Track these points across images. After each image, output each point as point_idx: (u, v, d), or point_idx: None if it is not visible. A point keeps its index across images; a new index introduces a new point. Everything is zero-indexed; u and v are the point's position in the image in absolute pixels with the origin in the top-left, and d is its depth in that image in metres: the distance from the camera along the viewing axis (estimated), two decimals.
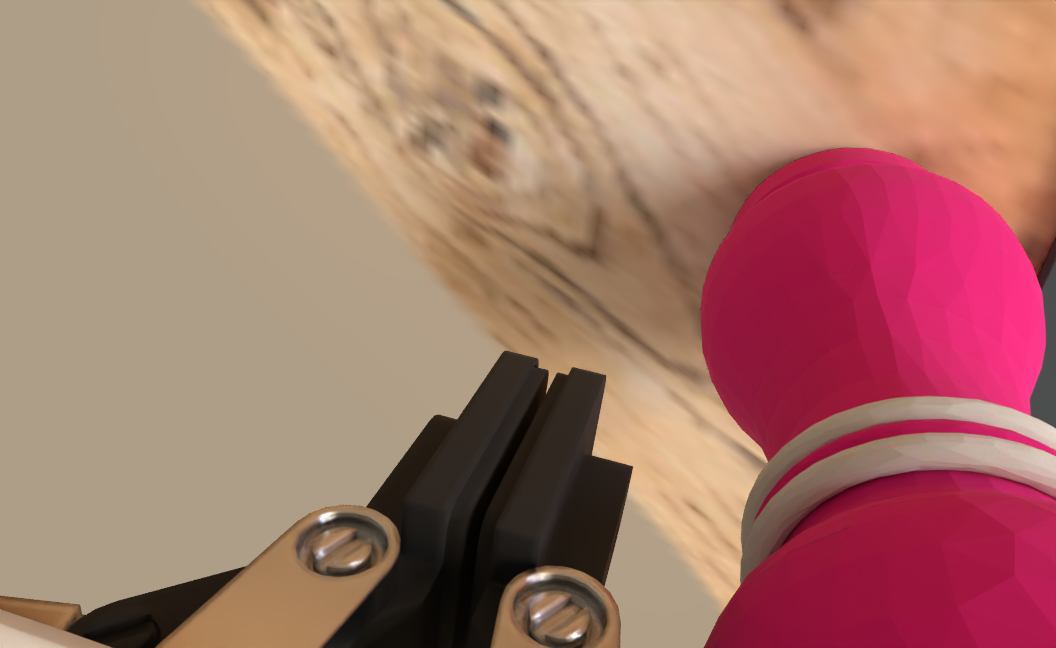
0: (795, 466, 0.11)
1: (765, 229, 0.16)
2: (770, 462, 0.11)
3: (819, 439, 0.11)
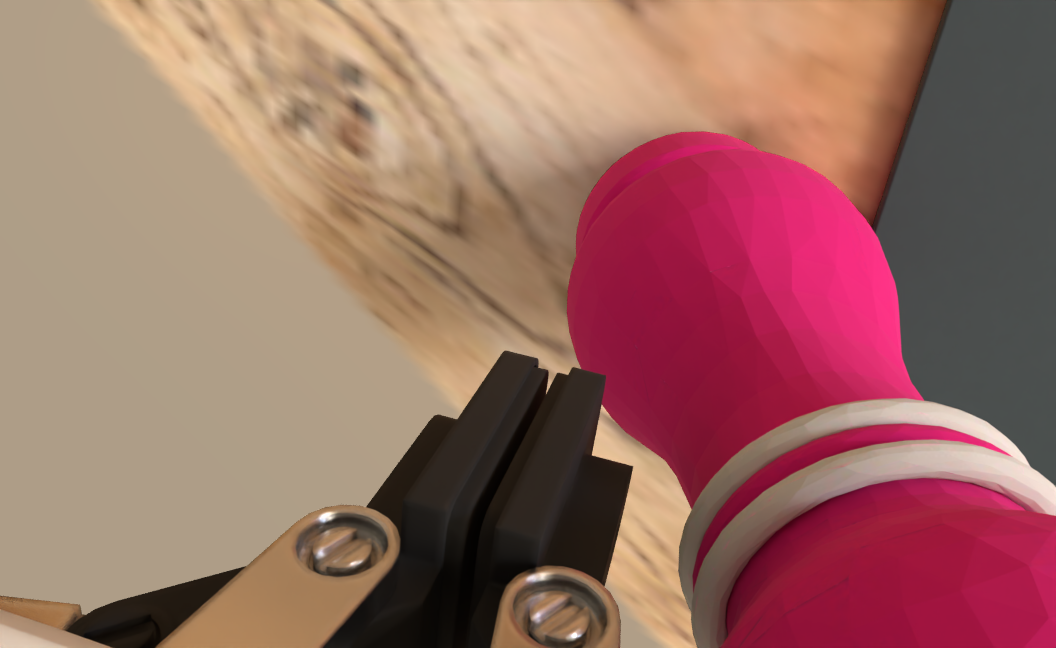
0: (738, 494, 0.10)
1: (633, 227, 0.16)
2: (706, 490, 0.10)
3: (758, 461, 0.10)
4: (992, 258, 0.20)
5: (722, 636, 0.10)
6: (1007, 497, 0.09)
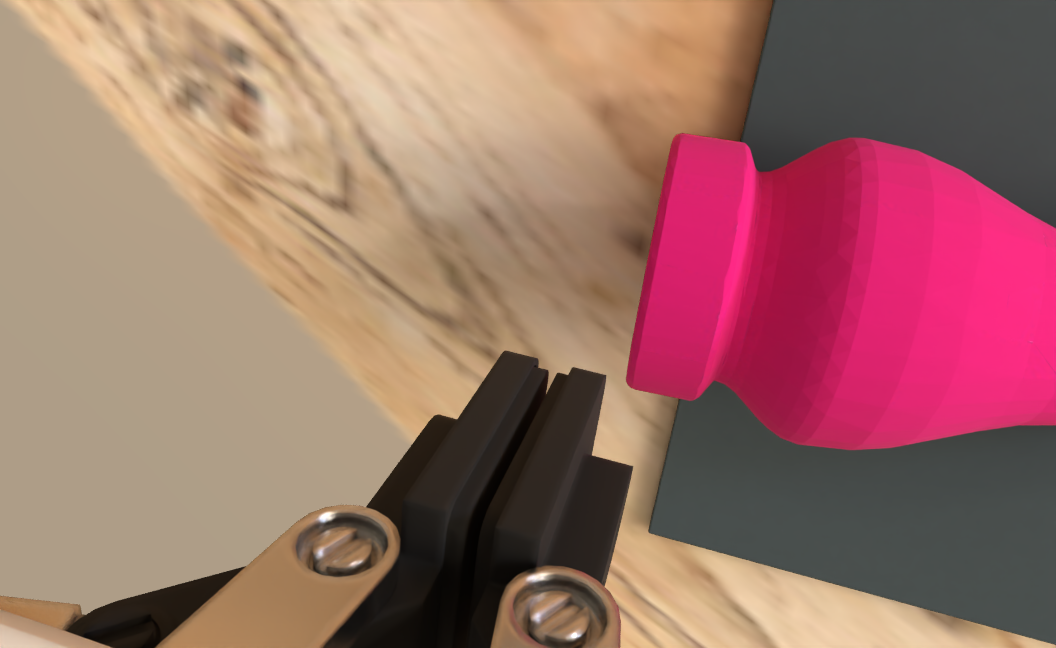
0: None
1: (952, 241, 0.15)
2: None
3: None
4: None
5: None
6: None
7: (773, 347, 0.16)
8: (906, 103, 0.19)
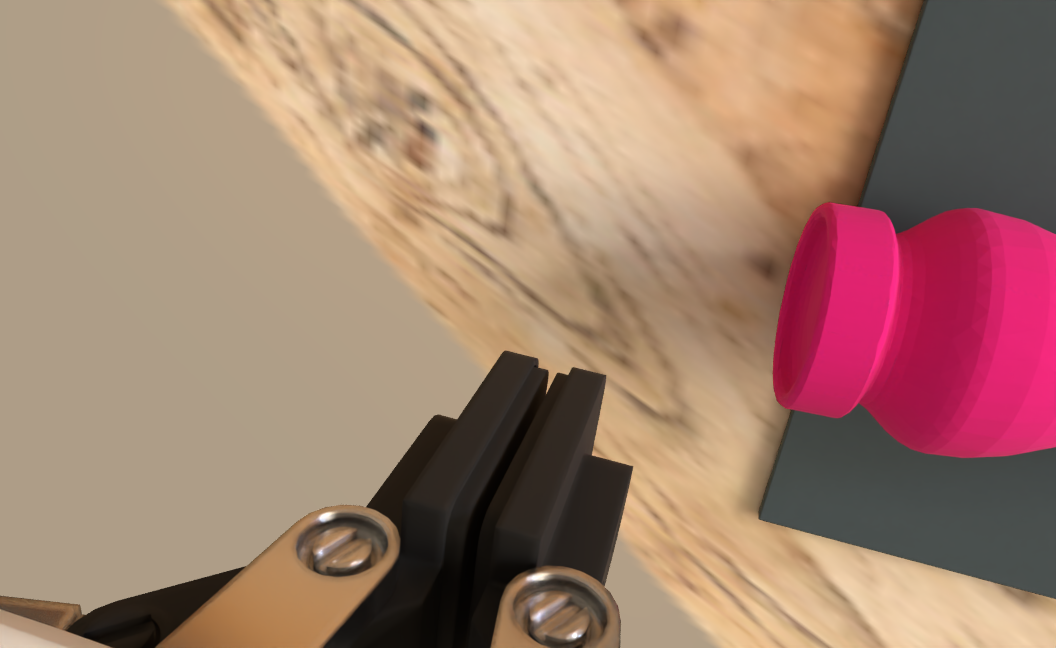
0: None
1: None
2: None
3: None
4: None
5: None
6: None
7: (911, 391, 0.21)
8: (1011, 156, 0.24)
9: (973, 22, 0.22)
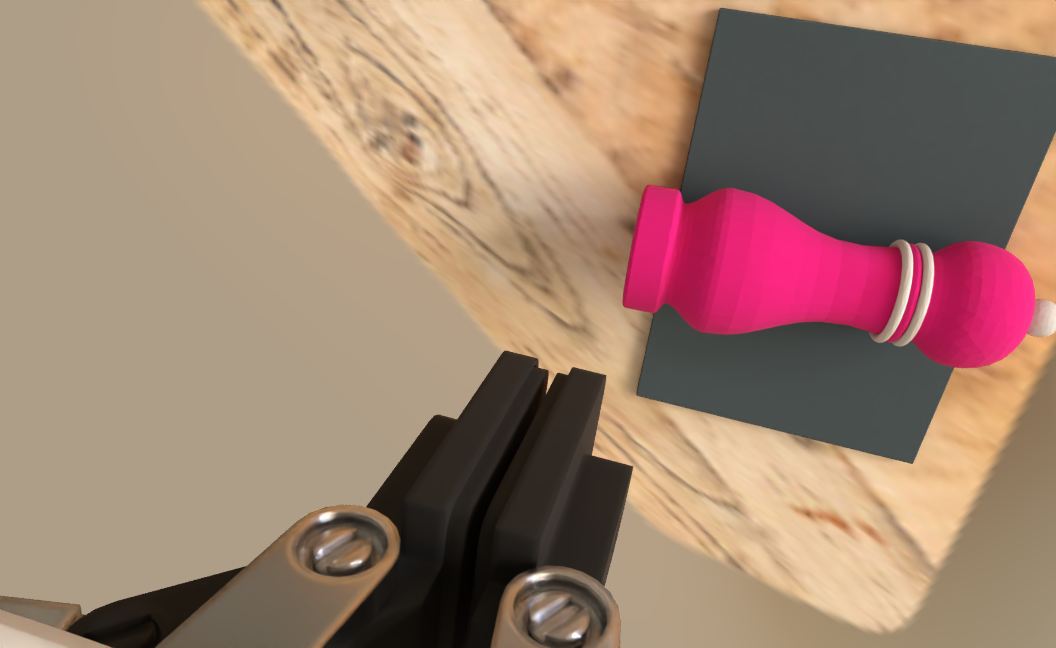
0: (916, 291, 0.34)
1: (759, 248, 0.35)
2: (904, 298, 0.34)
3: (911, 280, 0.35)
4: None
5: None
6: None
7: (685, 292, 0.36)
8: (764, 156, 0.39)
9: (734, 77, 0.38)
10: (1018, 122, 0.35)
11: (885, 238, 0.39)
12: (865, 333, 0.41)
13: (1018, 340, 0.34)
